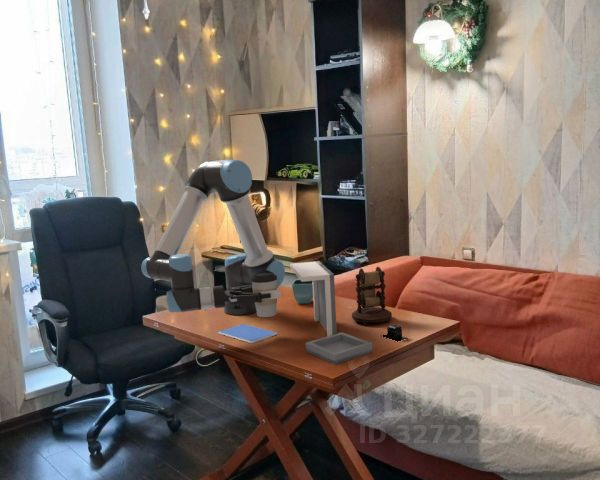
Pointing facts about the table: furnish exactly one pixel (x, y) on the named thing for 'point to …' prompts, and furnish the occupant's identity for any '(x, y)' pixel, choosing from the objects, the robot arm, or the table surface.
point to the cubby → (320, 292)
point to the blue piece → (247, 333)
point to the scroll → (371, 297)
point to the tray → (338, 348)
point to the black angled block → (394, 333)
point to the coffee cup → (265, 283)
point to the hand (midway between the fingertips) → (278, 290)
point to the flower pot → (303, 291)
